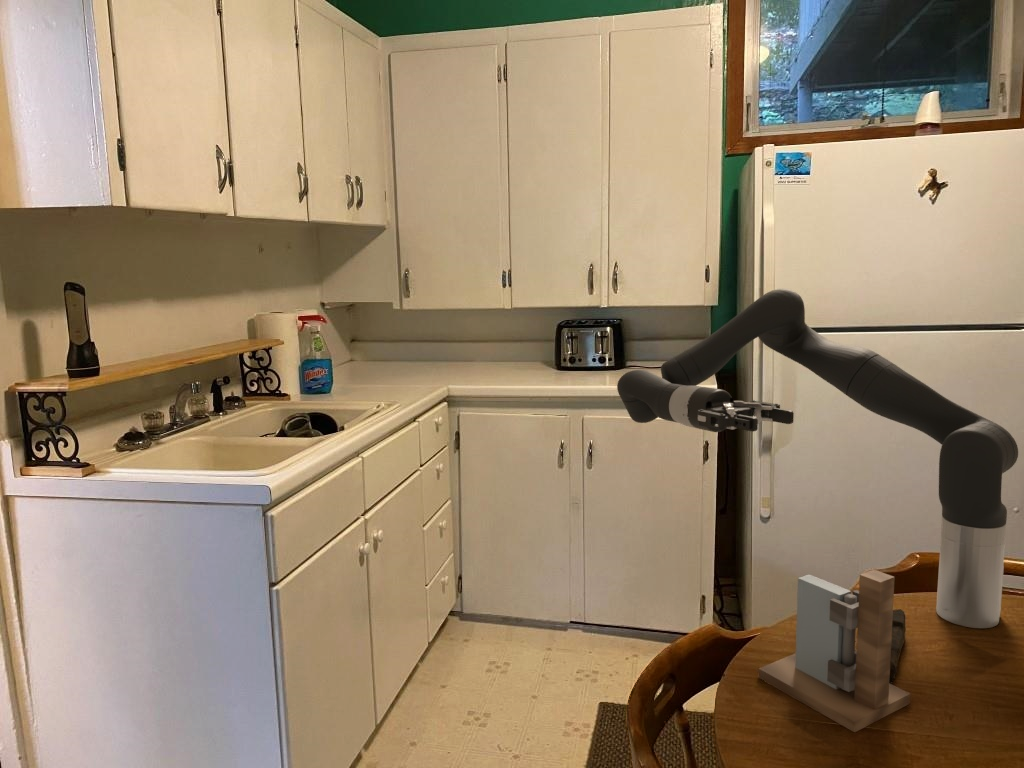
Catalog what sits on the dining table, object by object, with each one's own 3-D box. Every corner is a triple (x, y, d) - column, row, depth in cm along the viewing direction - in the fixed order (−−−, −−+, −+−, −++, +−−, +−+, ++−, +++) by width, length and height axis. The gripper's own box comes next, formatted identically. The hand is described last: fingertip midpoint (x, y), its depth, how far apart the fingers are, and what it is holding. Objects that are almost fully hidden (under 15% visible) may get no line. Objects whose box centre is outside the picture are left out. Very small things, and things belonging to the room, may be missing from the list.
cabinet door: (806, 663, 115) (809, 574, 113) (857, 689, 107) (861, 595, 105) (795, 667, 114) (797, 578, 111) (846, 694, 106) (850, 599, 104)
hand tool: (894, 688, 111) (896, 658, 110) (864, 680, 113) (866, 650, 112) (918, 636, 126) (920, 609, 125) (891, 629, 128) (893, 603, 127)
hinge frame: (812, 655, 120) (816, 535, 117) (909, 703, 106) (917, 569, 103) (758, 677, 114) (761, 552, 111) (854, 732, 100) (860, 591, 97)
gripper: (729, 422, 141) (803, 437, 127) (671, 433, 134) (743, 450, 120) (729, 382, 140) (804, 393, 126) (670, 391, 133) (743, 403, 119)
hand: (774, 421), depth 123 cm, fingers open, 8 cm apart
